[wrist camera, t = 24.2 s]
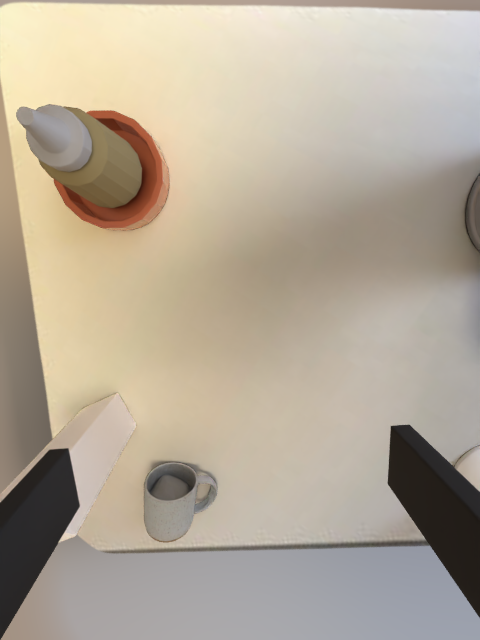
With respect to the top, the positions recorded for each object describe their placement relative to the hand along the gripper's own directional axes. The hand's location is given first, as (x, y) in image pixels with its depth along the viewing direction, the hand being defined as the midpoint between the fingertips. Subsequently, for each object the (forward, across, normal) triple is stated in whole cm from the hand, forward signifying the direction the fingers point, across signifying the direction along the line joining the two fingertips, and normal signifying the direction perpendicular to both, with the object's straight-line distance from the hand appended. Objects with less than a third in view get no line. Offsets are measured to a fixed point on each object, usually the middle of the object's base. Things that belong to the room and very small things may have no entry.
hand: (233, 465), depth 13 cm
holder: (+32, -13, +19) cm, 39 cm away
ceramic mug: (+32, -9, -27) cm, 43 cm away
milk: (+32, -19, -14) cm, 40 cm away
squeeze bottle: (+31, -13, +19) cm, 39 cm away
